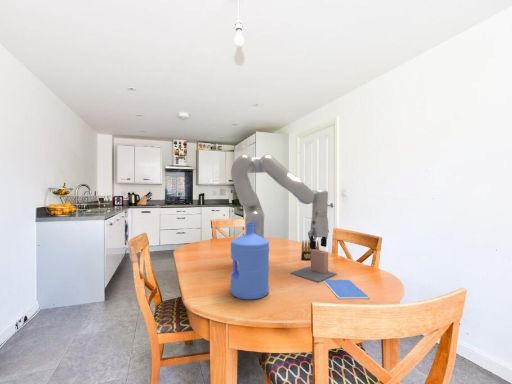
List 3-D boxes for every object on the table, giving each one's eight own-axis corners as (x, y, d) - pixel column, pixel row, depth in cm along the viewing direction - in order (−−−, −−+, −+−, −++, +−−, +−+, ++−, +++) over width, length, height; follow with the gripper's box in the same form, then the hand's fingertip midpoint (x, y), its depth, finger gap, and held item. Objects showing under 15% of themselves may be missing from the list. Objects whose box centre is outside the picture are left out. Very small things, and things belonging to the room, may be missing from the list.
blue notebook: (322, 282, 114) (322, 279, 114) (349, 282, 115) (349, 279, 115) (338, 300, 95) (338, 297, 95) (370, 300, 95) (370, 297, 95)
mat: (318, 282, 112) (318, 281, 112) (290, 273, 124) (290, 272, 124) (336, 274, 123) (336, 273, 123) (309, 267, 135) (309, 266, 135)
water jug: (271, 286, 107) (272, 221, 107) (264, 302, 92) (265, 227, 92) (237, 283, 111) (237, 220, 110) (224, 298, 95) (225, 225, 95)
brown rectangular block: (324, 273, 123) (324, 253, 122) (310, 269, 128) (310, 250, 128) (328, 272, 125) (328, 252, 125) (314, 268, 131) (314, 249, 131)
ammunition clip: (318, 259, 150) (318, 239, 149) (319, 260, 148) (319, 240, 148) (301, 259, 150) (301, 239, 149) (301, 260, 148) (301, 240, 148)
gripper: (316, 215, 118) (314, 251, 118) (335, 214, 130) (333, 246, 130) (303, 214, 123) (302, 248, 123) (322, 212, 135) (321, 244, 135)
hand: (318, 247), depth 127 cm, fingers open, 9 cm apart
